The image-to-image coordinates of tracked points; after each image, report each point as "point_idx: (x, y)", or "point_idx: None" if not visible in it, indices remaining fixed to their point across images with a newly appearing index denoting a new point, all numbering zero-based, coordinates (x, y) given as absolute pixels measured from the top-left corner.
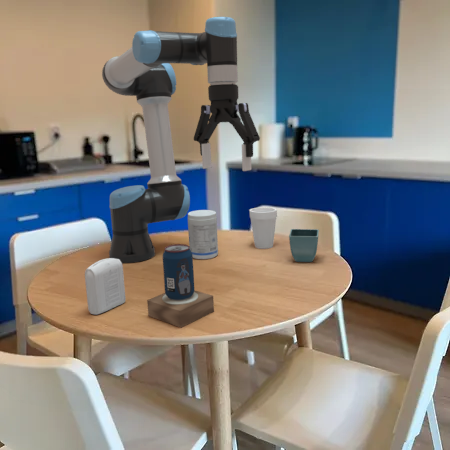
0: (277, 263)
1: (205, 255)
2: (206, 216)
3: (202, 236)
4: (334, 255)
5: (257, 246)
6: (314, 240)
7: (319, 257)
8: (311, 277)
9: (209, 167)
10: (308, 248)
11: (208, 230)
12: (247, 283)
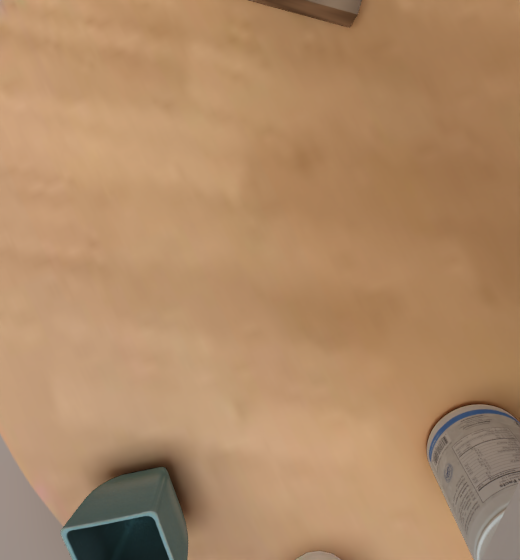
0: (211, 440)
1: (454, 416)
2: None
3: (490, 456)
4: None
5: (331, 557)
6: (76, 517)
7: None
8: (69, 358)
9: (495, 538)
10: (106, 494)
11: (476, 484)
12: (221, 250)
